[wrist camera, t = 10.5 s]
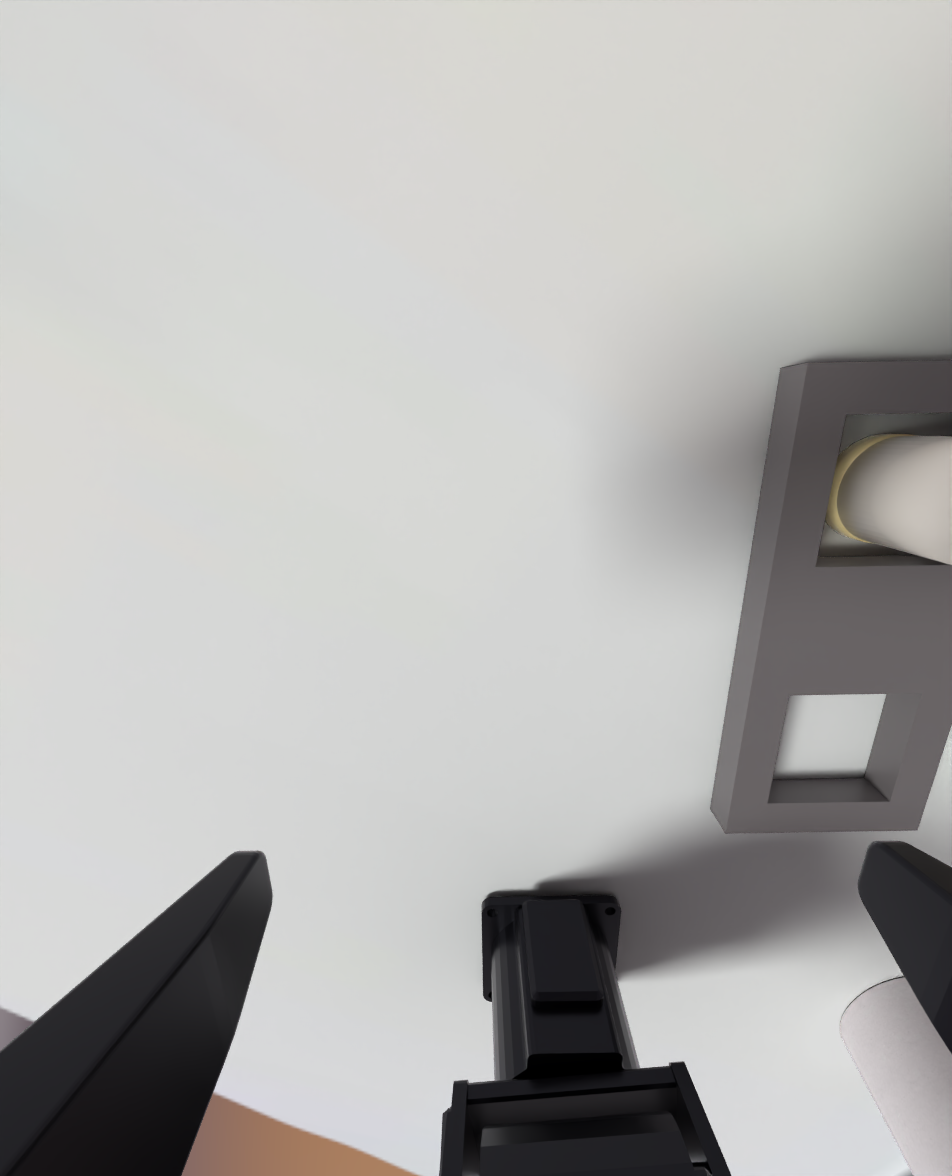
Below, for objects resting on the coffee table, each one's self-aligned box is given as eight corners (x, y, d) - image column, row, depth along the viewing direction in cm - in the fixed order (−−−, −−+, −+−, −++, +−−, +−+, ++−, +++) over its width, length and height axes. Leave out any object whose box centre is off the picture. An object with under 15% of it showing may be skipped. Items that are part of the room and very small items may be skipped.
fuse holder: (890, 806, 22) (917, 830, 20) (710, 808, 22) (725, 833, 20) (1021, 363, 16) (1070, 357, 15) (780, 368, 16) (807, 362, 15)
